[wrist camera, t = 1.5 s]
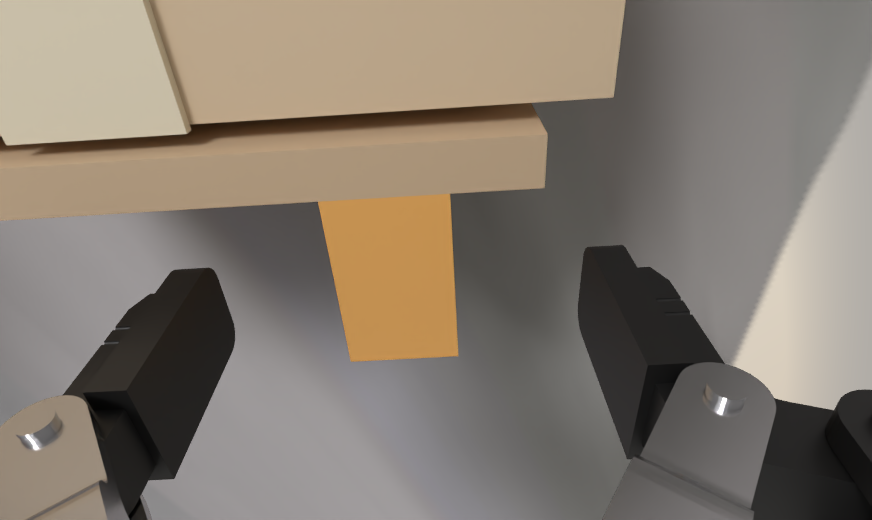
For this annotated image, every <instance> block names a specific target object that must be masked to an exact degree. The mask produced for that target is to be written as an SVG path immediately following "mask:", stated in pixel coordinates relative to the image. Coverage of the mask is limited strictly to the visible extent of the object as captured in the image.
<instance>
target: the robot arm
mask: <svg viewBox="0 0 872 520" xmlns="http://www.w3.org/2000/svg"><path fill="white" fill-rule="evenodd" d="M680 298H681V297H680V296H679V294H678V293H677V291H676V290H675V288H674V287H673V285H672V284H671V282H670V281H669V280H668V279H666V278H665V277H664V276H662V275H661V274H659V273H658V272H656V271H655V270H654V269H652V268H651V267H640V268H637V266H636V265H635V263H634V261H633V260H632V258H631V256H630V255H629V253H628V251H627V250H626V248H625V247H624V246H623V245H616V246H599V247H587V248H586V249H585V251H584V256H583V264H582V273H581V282H580V292H579V301H578V320H579V327H580V331H581V334H582V337H583V340H584V343H585V345H586V348H587V351H588V354H589V356H590V359H591V362H592V364H593V367H594V370H595V373H596V375H597V378H598V381H599V383H600V386H601V389H602V392H603V394H604V397H605V400H606V403H607V405H608V408H609V411H610V413H611V416H612V419H613V422H614V424H615V427H616V430H617V432H618V435H619V438H620V441H621V443H622V446H623V449H624V452H625V454H626V457H627V459H632V460H631V462H630V464H629V466H628V467H627V469H626V471H625V473H624V476H623V478H622V480H621V482H620V484H619V486H618V488H617V490H616V492H615V494H614V496H613V498H612V500H611V502H610V504H609V506H608V508H607V510H606V512H605V514H604V516H603V518H602V520H872V390H856V391H852V392H849V393H847V394H845V395H844V396H843V397H841V399H840V401H839V402H838V404H837V406H836V408H835V410H829V409H823V408H818V407H813V406H807V405H802V404H796V403H791V402H787V401H782V400H778V399H775V398H774V397H773V395H772V394H771V392H770V391H769V390H768V388H767V387H766V386H765V385H764V384H763V383H762V382H761V381H759V380H758V379H757V378H755V377H754V376H752V375H751V374H749V373H747V372H745V371H743V370H741V369H739V368H736V367H733V366H730V365H727V364H725V363H724V362H723V360H722V359H721V357H720V356H719V354H718V353H717V351H716V350H715V348H714V347H713V345H712V344H711V342H710V341H709V339H708V338H707V336H706V335H705V333H704V332H703V330H702V329H701V327H700V326H699V324H698V323H697V321H696V320H695V318H694V317H693V315H690V311H689V309H688V308H687V306H686V305H685V303H684V302H683V301H681V299H680ZM104 342H105V344H104V345H101V346H100V348H99V349H98V350H97V352H96V353H95V354H94V355H93V357H92V358H91V359H90V361H89V362H88V363H87V364H86V366H85V367H84V368H83V370H82V371H81V372H80V374H79V375H78V376H77V377H76V379H75V380H74V381H73V383H72V384H71V385H70V387H69V388H68V389H67V390H66V392H65V393H64V394H63V396H56V397H51V398H48V399H44V400H42V401H39V402H37V403H34V404H32V405H30V406H28V407H26V408H25V409H23V410H21V411H19V412H18V413H17V414H15V415H14V416H12V417H11V418H10V419H8V420H7V421H6V422H5V423H4V424H3V425H2V426H1V427H0V520H152V517H151V514H150V511H149V508H148V505H147V503H146V501H145V499H144V497H143V495H142V492H143V490H144V488H145V486H146V484H147V482H148V480H163V479H174V478H175V476H176V474H177V472H178V469H179V467H180V465H181V463H182V461H183V458H184V456H185V454H186V452H187V450H188V447H189V445H190V443H191V441H192V439H193V437H194V434H195V432H196V430H197V428H198V426H199V423H200V421H201V419H202V417H203V415H204V412H205V410H206V408H207V406H208V404H209V401H210V399H211V397H212V395H213V393H214V390H215V388H216V386H217V384H218V382H219V380H220V377H221V375H222V373H223V371H224V369H225V366H226V364H227V362H228V360H229V358H230V355H231V353H232V351H233V348H234V343H235V328H234V323H233V320H232V317H231V314H230V312H229V309H228V306H227V303H226V300H225V297H224V294H223V291H222V289H221V286H220V283H219V280H218V277H217V275H216V273H215V272H214V270H213V269H211V268H197V269H179V270H173V271H172V272H171V273H170V274H169V275H168V276H167V278H166V279H165V281H164V282H163V283H162V285H161V286H160V287H159V289H158V290H157V291H156V293H155V294H149V295H148V296H147V297H145V298H144V299H142V300H141V301H140V302H138V303H137V304H136V305H134V306H133V307H132V308H130V309H129V310H128V311H127V313H126V314H125V315H124V316H123V318H122V319H121V320H120V322H119V323H118V324H117V326H116V330H113V331H112V332H111V333H110V335H109V336H108V337H107V339H106V340H105V341H104Z"/></svg>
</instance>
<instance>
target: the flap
mask: <svg viewBox="0 0 872 520" xmlns="http://www.w3.org/2000/svg"><path fill="white" fill-rule="evenodd" d="M190 127H191V131H190V132H189V133H188V134H179V135H163V136H147V137H132V138H116V139H100V140H84V141H68V142H53V143H37V144H21V145H6V144H5V142H4V140H3V138H2V136H1V137H0V221H4V220H20V219H37V218H54V217H70V216H87V215H104V214H120V213H137V212H154V211H171V210H187V209H204V208H221V207H237V206H254V205H271V204H287V203H304V202H318V204H319V209H320V214H321V219H322V224H323V229H324V233H325V238H326V243H327V248H328V253H329V258H330V263H331V267H332V272H333V277H334V282H335V287H336V292H337V297H338V301H339V306H340V311H341V316H342V321H343V326H344V331H345V335H346V340H347V345H348V350H349V355H350V360H351V362H354V361H373V360H392V359H412V358H431V357H450V356H458V340H457V321H456V301H455V281H454V261H453V242H452V222H451V202H450V194H454V193H471V192H488V191H504V190H521V189H538V188H545V173H546V156H547V139H548V134H547V132H546V130H545V128H544V126H543V125H542V123H541V121H540V119H539V117H538V115H537V113H536V112H535V110H534V108H533V106H532V104H531V103H519V104H503V105H487V106H472V107H456V108H440V109H425V110H409V111H393V112H378V113H362V114H346V115H331V116H315V117H299V118H284V119H268V120H252V121H237V122H221V123H205V124H190Z"/></svg>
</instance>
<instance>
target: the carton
mask: <svg viewBox="0 0 872 520" xmlns="http://www.w3.org/2000/svg"><path fill="white" fill-rule="evenodd" d="M625 1H626V0H0V137H1V136H2V138H3V140H4V142H5V144H6V145H21V144H37V143H53V142H68V141H84V140H100V139H116V138H132V137H147V136H163V135H179V134H188V133H189V132H190V131H191V127H190V124H205V123H221V122H237V121H252V120H268V119H284V118H299V117H315V116H331V115H346V114H362V113H378V112H393V111H409V110H425V109H440V108H456V107H472V106H487V105H503V104H519V103H534V102H550V101H566V100H582V99H597V98H613V97H614V89H615V81H616V73H617V65H618V57H619V49H620V41H621V33H622V25H623V17H624V9H625Z"/></svg>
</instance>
